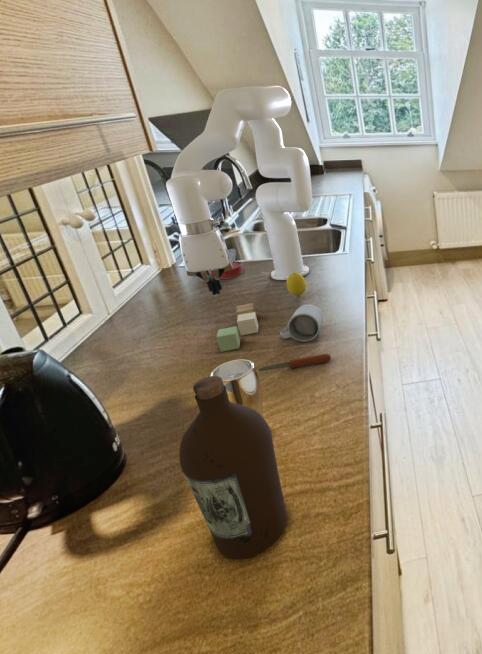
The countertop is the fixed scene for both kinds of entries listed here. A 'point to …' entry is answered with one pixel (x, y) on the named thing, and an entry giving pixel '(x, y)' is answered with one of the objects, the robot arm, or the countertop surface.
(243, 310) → the birch block
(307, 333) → the ceramic mug
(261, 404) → the beer glass
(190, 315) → the countertop surface
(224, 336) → the sage block
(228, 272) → the canned food
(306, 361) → the kitchen knife
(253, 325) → the cream block
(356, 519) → the countertop surface
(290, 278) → the lemon
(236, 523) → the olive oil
